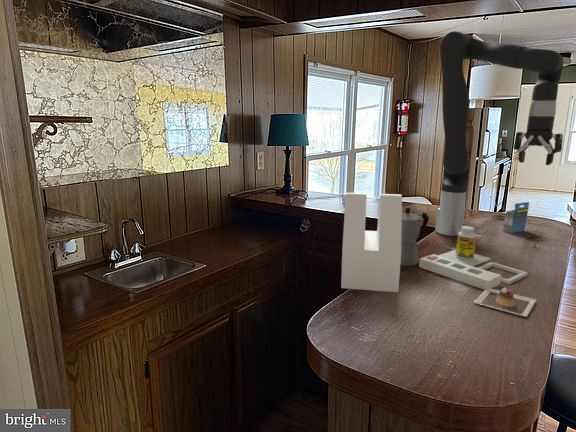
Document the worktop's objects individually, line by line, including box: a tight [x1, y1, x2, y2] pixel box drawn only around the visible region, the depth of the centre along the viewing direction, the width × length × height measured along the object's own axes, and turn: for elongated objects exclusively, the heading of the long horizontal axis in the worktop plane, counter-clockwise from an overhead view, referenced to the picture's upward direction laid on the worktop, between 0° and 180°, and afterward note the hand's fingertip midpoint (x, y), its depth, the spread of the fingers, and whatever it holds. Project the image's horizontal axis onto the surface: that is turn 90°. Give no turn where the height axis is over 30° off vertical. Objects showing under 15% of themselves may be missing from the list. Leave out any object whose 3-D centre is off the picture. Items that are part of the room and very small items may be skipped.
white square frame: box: [477, 261, 528, 285], centre depth 125 cm, size 11×11×1 cm
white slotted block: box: [340, 192, 403, 293], centre depth 120 cm, size 19×15×25 cm
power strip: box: [418, 253, 502, 291], centre depth 124 cm, size 22×10×3 cm, turn 37°
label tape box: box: [502, 201, 530, 234], centre depth 168 cm, size 9×4×12 cm, turn 118°
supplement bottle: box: [455, 225, 477, 259], centre depth 136 cm, size 6×6×10 cm
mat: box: [438, 249, 492, 267], centre depth 138 cm, size 12×12×1 cm
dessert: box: [473, 286, 537, 318], centre depth 106 cm, size 12×12×5 cm
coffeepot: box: [400, 207, 430, 267], centre depth 134 cm, size 15×9×18 cm, turn 115°
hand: (534, 163), depth 142 cm, fingers open, 8 cm apart
